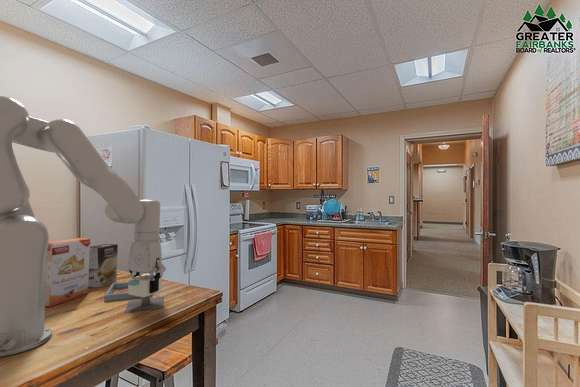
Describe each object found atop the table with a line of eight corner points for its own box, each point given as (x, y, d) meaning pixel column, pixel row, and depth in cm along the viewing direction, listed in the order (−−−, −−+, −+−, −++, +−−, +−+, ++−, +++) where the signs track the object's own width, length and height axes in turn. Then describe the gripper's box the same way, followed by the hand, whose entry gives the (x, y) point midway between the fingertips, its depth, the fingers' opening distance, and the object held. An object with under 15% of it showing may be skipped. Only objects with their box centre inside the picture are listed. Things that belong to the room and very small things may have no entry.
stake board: (163, 311, 89) (163, 289, 89) (123, 316, 85) (124, 293, 85) (164, 299, 99) (164, 279, 100) (129, 303, 95) (129, 283, 95)
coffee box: (98, 288, 111) (99, 247, 111) (85, 286, 112) (86, 247, 113) (117, 281, 120) (118, 244, 120) (104, 280, 121) (105, 243, 122)
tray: (151, 298, 100) (151, 290, 100) (104, 304, 94) (104, 295, 94) (153, 286, 113) (153, 279, 113) (112, 291, 108) (112, 283, 108)
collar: (139, 299, 86) (139, 282, 86) (122, 296, 88) (123, 280, 89) (161, 290, 94) (162, 275, 94) (146, 288, 97) (146, 273, 97)
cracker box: (50, 307, 91) (52, 243, 91) (36, 306, 92) (37, 243, 92) (89, 293, 105) (91, 238, 105) (76, 292, 106) (77, 237, 106)
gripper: (117, 236, 92) (116, 290, 92) (157, 239, 86) (156, 297, 86) (137, 233, 99) (135, 284, 99) (175, 237, 93) (174, 290, 93)
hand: (145, 290), depth 92 cm, fingers closed on collar, 7 cm apart
